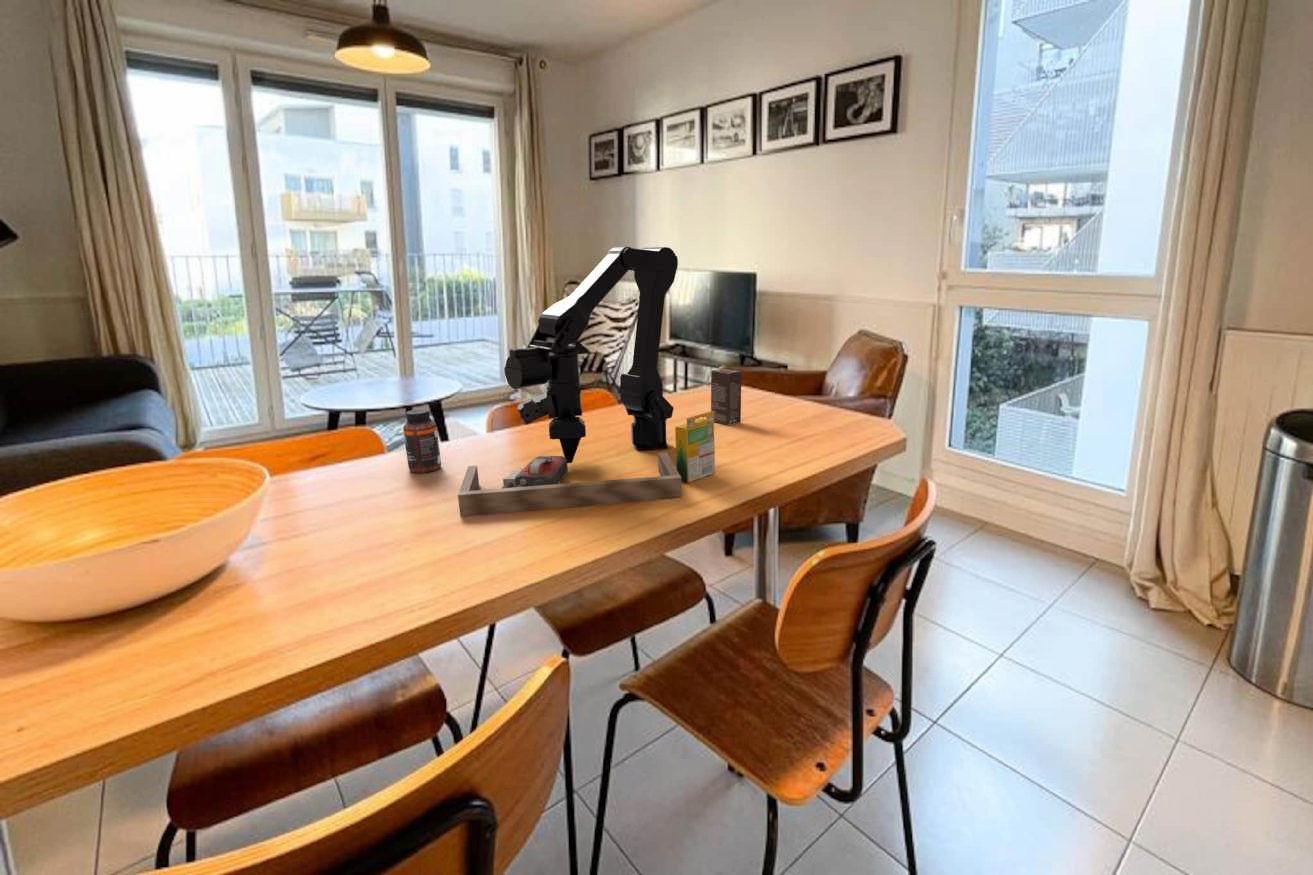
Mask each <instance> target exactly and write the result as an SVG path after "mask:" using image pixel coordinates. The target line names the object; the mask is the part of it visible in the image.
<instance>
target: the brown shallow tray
mask: <svg viewBox="0 0 1313 875" xmlns="http://www.w3.org/2000/svg"><path fill="white" fill-rule="evenodd" d="M657 464H658V467H657V468H658V469H657V471H658V473H659V475H660V476H659V475H658V476H646V477H635V478H625V479H624V478H621V479H608V480H607V479H606V480H596V481H595V480H594V481H582V482H571V483H570V482H569V483H559V484H554V485H541V486H528V487H514V488H502V487H500V488H492V489H491V488H490V489H479V486H480V480H479V471H478V465H468V466H467V469H466V470H465V474H464V477H463V480H462V481H461V482H462V483H461V485H460V488H459V491H458V494H457V499H458V508H459V517H468V516H479V515H480V516H481V515H492V514H493V515H494V514H504V513H516V512H517V513H519V512H526V511H527V512H529V511H531V512H532V511H541V510H542V511H543V510H553V509H566V508H576V507H590V506H601V505H602V506H603V505H614V504H615V505H616V504H627V503H638V502H652V501H664V500H665V501H666V500H672V499H673V500H674V499H675V500H676V499H682V498H683V497H682V496H683V488H682V487H683V485H682V484H683V482H682V478H681V476H680V474H679V473H678V471H677V467H676V465H675V464H674V463H673V460H671V458H670V456H669V454H668V453H667V451H660V452H657Z"/></svg>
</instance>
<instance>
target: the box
mask: <svg viewBox="0 0 1313 875" xmlns="http://www.w3.org/2000/svg"><path fill="white" fill-rule="evenodd" d="M710 377H711V380H710V382H711V383H710V384H711V385H710V412H711V411H714V423H719V424H723V425H727V426H732V425H736V424H739V423H741V421H742V419H741V416H742V412H741V411H742V370H741V371H740V370H733V369H726V368H720V369H713V370H711V372H710Z"/></svg>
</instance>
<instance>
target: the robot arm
mask: <svg viewBox="0 0 1313 875" xmlns="http://www.w3.org/2000/svg"><path fill="white" fill-rule="evenodd" d="M678 266H679V259H678V256H677V255H676V253H675V251H674V250H673V249H672V248H670V247H669V246H666V247H665V246H663V247H662V246H661V247H659V246H658V247H657V246H656V247H643V248H633V247H631V246H615V247H614V246H613V247H612V248H611V249H609V250H608V252H607V255H606V256H604V258H603V259H602V260H601V261H600V262H599V263H598V265H596V266H595V267H594V268H593V270H592V271H591V272H590V273H589V275H588V276H587V277H585V279H584V280H583V281H582V282H581V283H580V284H579V285H578V286H577V288H575V290H574V291H573V292H572V293H571V294H569V295H568V296H567V297H565V298H563V299H561V300H559V301H557V302H554V304H552V305H551V306H549V307H548V308H547V309H546V310H544V311H543V312H542V313H541V314H540V316H539V318H538V320H537V321H538V322H537V323H538V325H537V327H536V329H535V331H534V334H533V335H532V337H531V339H530V341H529V343H528V345H527V347H526V348H525V347H524V348H517V347H516V348H509V349H508V350H509V351H508V352H509V356H508V357H507V359H506V360H505V367H504V376H505V380H506V381H507V383H508V385H509V387H510V388H511V389H513V390H519V389H525V388H529V387H530V388H531V387H536V386H541V385H545V384H547V386H546V392H545V393H543V394H541V395H537V396H535V397H532V398H530V399H528V400H525V401H523V402H521V403H519V404H518V405H517V411H518V414H519V417H520V418H521V420H522V422H523V424H524V425H525V426H527V425H530V424H532V423H533V422H534V421H537V420H539V419H541V418H543V417H546V416H548V419H552V420H551V421H549V423H548V433H549V434H548V435H549V439H550V440H559V442H560V446H561V450H562V453H563V457H565V458H566V459H567V464H573V461H574V458H575V455H576V452H577V450H578V447H579V444H580V442H581V439H582V438H585V437H587V433H586V424H585V420H583V418H581V417H582V416H583V408H582V399H581V397H582V395H581V393H582V392H581V390H582V389H581V383H580V382H581V380H580V365H579V364H580V363H579V355H583V354H588V353H589V348H587V347H585V346H584V345H583V343H581V342H580V339H581V337H582V335H583V334H584V332H585V330H586V329H587V327H588V325H589V323H590V318H591V315H592V313H593V311H594V309H596V307H597V306H599V304H600V303H601V302H602V301H603V300H604V298H606V296H607V295H608V294H609V293H610V291H612V289H614V287H615V286H616V285H617V284H618V283H619V282H620V281H621V279H622V278H623V277H624V276H625V275H626V274H627V273H628V272H629V271H633V272H634V273H633V278H634V281H635V283H636V286H637V289H638V292H639V297H638V298H639V300H638V308H637V317H636V318H637V319H636V328H635V329H636V330H635V336H634V337H635V338H634V346H633V347H634V348H633V354H632V355H633V357H632V365H631V367H630V369H629V370H628V371H627V373H624V372H623V373H621V374H620V377H619V378H620V379H619V382H620V385H619V389H618V391H617V393H618V394H620V395H619V396H620V397H619V398H620V399H619V400H620V402H621V403H622V406H624V408H625V410H626V414H627V415H628V416H633V422H631V424H630V431H631V443H632V445H633V446H634V447H635V450H636V451H644V450H645V451H646V450H647V451H648V450H660V449H668V448H669V445H668V443H667V421H668V419H672V417H673V413H674V406H673V405H672V404H671V403H670V402H669V401H668V400H667V399H666V398H665V397H664V391H663V389H664V387H663V380H662V378H661V375H660V373H659V370H658V364H659V363H658V362H659V351H660V346H661V345H660V344H661V334H662V326H663V318H664V310H665V309H664V308H665V307H664V306H665V298H666V294H667V293H668V291H669V290H670V289H671V287H672V285H673V284H674V282H675V278H676V274H677V272H678V271H677V270H678V268H679V267H678ZM580 416H581V417H580Z"/></svg>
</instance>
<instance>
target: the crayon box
mask: <svg viewBox="0 0 1313 875" xmlns="http://www.w3.org/2000/svg"><path fill="white" fill-rule="evenodd" d="M674 431H675V434H674V435H675V458H676V459H675V462H676V465H675V468H676V469H677V471H678V473H679V474H680V476H681V478H682V483H687V484H690V483H691V482H694V481H696V480H700V479H702V478H705V477H707V476H709V475H714V474H715V473H716V467H715V466H716V460H715V453H716V452H715V450H716V449H715V422H714V411H711V410H710V411H708V412H704V413H700V414H698V415H694V416H691V417H688V418H686V423H685V424H680V425H676V426H675V430H674Z"/></svg>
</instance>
